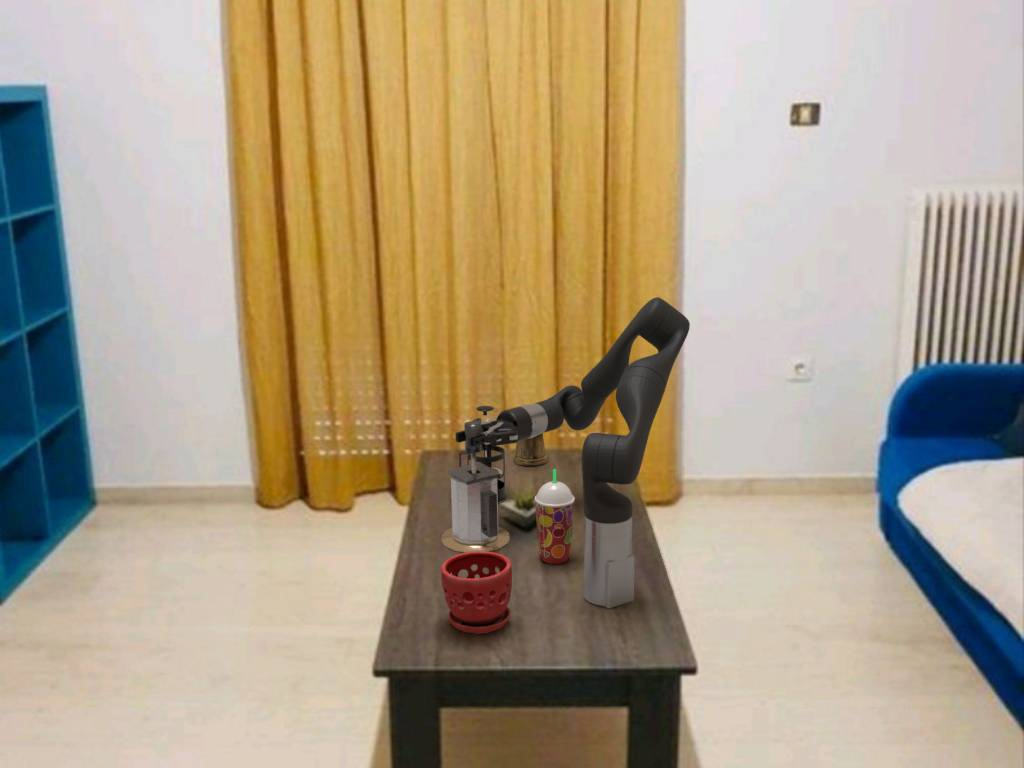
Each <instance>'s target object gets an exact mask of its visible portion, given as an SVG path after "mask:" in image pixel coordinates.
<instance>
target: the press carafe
mask: <svg viewBox="0 0 1024 768" xmlns="http://www.w3.org/2000/svg"><path fill="white" fill-rule="evenodd" d="M447 475H449V476H450V486H451V487H450V493H451V494H450V496H451V527H449V528H448V529H447V530H445V531H444V532H443V533H442V535H441V543H443V544H442V545H443V546H444V547H445V548H447V549H448V548H449V549H448V550H450V549H451V551H453V552H457V553H461V552H463V553H467V552H476V551H484V552H494V551H498V550H500V549H502V548H504V547H505V546H507V545H508V544H509V541H510V537H511V536H510V533H509V532H508V531H507V529H505V528H503V527H502V526H499V510H498V507H499V506H498V505H499V503H498V494H497V478H499V477H501V474H500V473H498V472H497V471H495V470H493V469H491V468H490V467H488V466H486V465H484V464H483V463H481V462H476V474H472V465H471V464H469V465H468V464H467V465H465V466H463V465H462V467H455V468H451V469H447Z"/></svg>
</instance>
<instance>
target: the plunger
mask: <svg viewBox="0 0 1024 768" xmlns="http://www.w3.org/2000/svg"><path fill="white" fill-rule="evenodd" d="M463 424H464V429H463V430H465V441H464V451H466V452H468V453H471V454H470V455H471V460H470V461H471V464H470V465H472V474H476V464H477V462H476V456H477V453H480V452H482V444H481V445H477V446H474V447H469V446H468V437H470V436H473V435H477V434H480V433H481V423H480V422H477V421H473V420H471V421H466V422H465V423H463Z"/></svg>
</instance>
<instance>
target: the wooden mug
mask: <svg viewBox="0 0 1024 768" xmlns="http://www.w3.org/2000/svg"><path fill="white" fill-rule="evenodd" d="M514 451H515V452H514V455H513V463H515V464H516V465H518V466H522V467H539V466H542V465H545V464H546V463H547V462H548V455H547V453H546V446H545V439H544V433H542V434H539V435H537V436H535V437H532V438H529V439H526V440H522V441H519V442H517V443H515V450H514Z"/></svg>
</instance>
